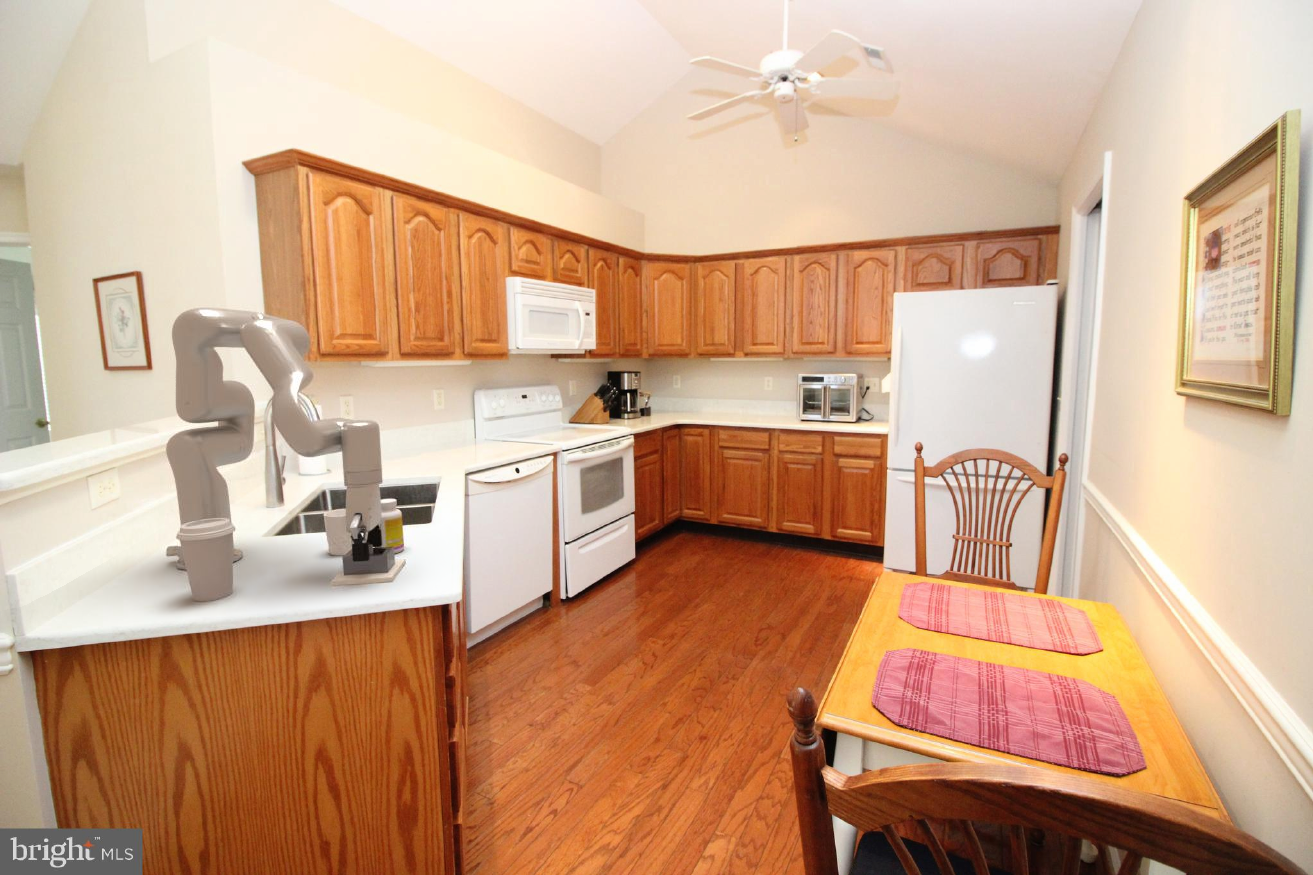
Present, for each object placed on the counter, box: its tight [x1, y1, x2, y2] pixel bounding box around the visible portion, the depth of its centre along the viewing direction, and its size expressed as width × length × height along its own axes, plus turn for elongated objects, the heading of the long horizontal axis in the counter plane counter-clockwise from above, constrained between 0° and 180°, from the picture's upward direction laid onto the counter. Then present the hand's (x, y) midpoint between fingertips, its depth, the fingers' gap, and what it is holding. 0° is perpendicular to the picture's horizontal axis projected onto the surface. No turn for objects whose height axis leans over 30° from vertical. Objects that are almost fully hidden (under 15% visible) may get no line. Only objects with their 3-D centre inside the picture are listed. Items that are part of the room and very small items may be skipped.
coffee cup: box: [175, 518, 237, 602], centre depth 121 cm, size 10×10×15 cm
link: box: [342, 547, 396, 575], centre depth 133 cm, size 9×6×4 cm, turn 100°
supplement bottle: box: [374, 498, 405, 555], centre depth 148 cm, size 7×7×13 cm
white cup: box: [323, 508, 361, 557], centre depth 149 cm, size 8×8×10 cm
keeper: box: [331, 544, 407, 586], centre depth 133 cm, size 12×12×6 cm
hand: (368, 553), depth 133 cm, fingers open, 9 cm apart
